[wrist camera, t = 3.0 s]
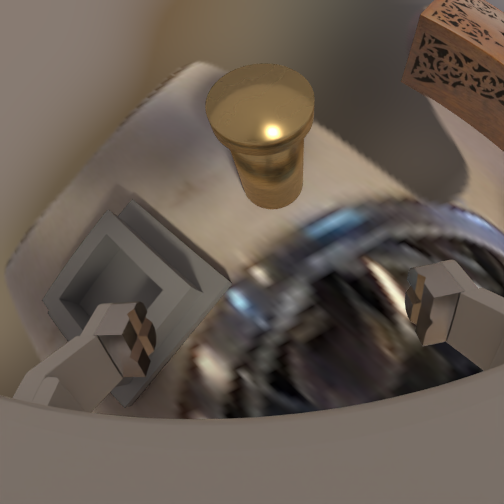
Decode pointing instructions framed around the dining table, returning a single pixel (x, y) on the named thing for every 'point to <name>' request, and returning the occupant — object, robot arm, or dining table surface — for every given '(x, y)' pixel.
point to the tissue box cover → (461, 62)
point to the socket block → (136, 285)
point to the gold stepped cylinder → (264, 128)
